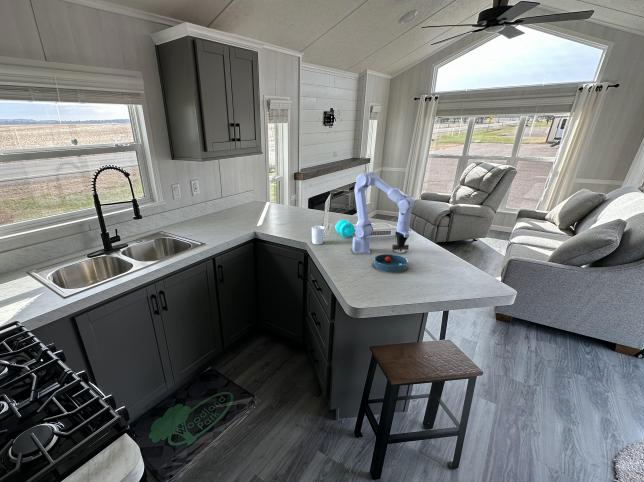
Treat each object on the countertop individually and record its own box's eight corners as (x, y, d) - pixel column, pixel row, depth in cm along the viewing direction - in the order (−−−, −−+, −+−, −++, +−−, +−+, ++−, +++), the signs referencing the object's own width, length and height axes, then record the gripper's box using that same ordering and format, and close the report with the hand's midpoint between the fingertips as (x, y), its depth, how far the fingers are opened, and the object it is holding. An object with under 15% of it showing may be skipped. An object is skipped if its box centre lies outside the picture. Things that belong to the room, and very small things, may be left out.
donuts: (340, 238, 210) (341, 223, 206) (334, 234, 219) (335, 219, 215) (354, 237, 212) (355, 222, 208) (348, 232, 221) (349, 218, 217)
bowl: (377, 273, 162) (378, 266, 160) (370, 260, 176) (371, 254, 175) (410, 273, 160) (412, 266, 159) (401, 260, 175) (402, 254, 174)
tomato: (385, 263, 171) (386, 258, 170) (384, 261, 174) (384, 255, 173) (391, 263, 171) (391, 258, 170) (389, 261, 174) (390, 255, 173)
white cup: (310, 241, 208) (310, 226, 204) (322, 240, 209) (323, 225, 205) (312, 245, 201) (313, 229, 197) (325, 244, 202) (326, 229, 198)
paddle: (392, 249, 172) (393, 245, 171) (391, 248, 173) (392, 244, 172) (408, 249, 171) (408, 245, 170) (407, 248, 173) (407, 244, 172)
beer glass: (406, 253, 184) (410, 227, 178) (393, 253, 185) (397, 227, 179) (404, 249, 190) (408, 224, 184) (392, 248, 191) (395, 224, 185)
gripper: (416, 225, 159) (412, 251, 165) (407, 217, 172) (404, 241, 178) (401, 225, 160) (398, 251, 165) (393, 217, 173) (390, 241, 178)
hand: (400, 246), depth 171 cm, fingers closed on paddle, 2 cm apart
